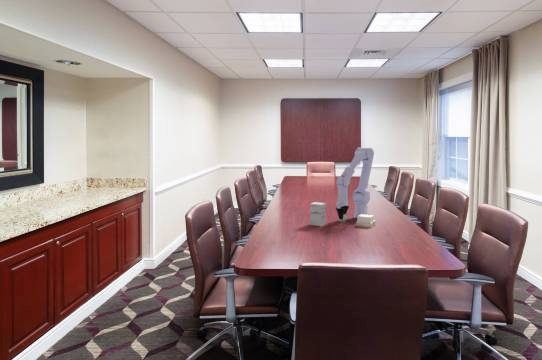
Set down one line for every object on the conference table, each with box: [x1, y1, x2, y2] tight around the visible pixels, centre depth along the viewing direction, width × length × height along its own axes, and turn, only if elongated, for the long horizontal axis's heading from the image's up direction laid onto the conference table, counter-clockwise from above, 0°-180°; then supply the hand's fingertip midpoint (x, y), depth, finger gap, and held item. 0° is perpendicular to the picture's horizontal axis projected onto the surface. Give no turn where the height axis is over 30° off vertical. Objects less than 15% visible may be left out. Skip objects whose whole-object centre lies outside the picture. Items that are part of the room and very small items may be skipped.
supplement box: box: [309, 201, 327, 227], centre depth 225 cm, size 7×7×13 cm
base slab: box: [355, 219, 377, 229], centre depth 224 cm, size 9×9×3 cm
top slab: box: [356, 214, 375, 223], centre depth 224 cm, size 8×8×3 cm
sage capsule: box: [337, 213, 347, 223], centre depth 236 cm, size 4×4×4 cm
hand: (342, 218), depth 236 cm, fingers closed on sage capsule, 4 cm apart
